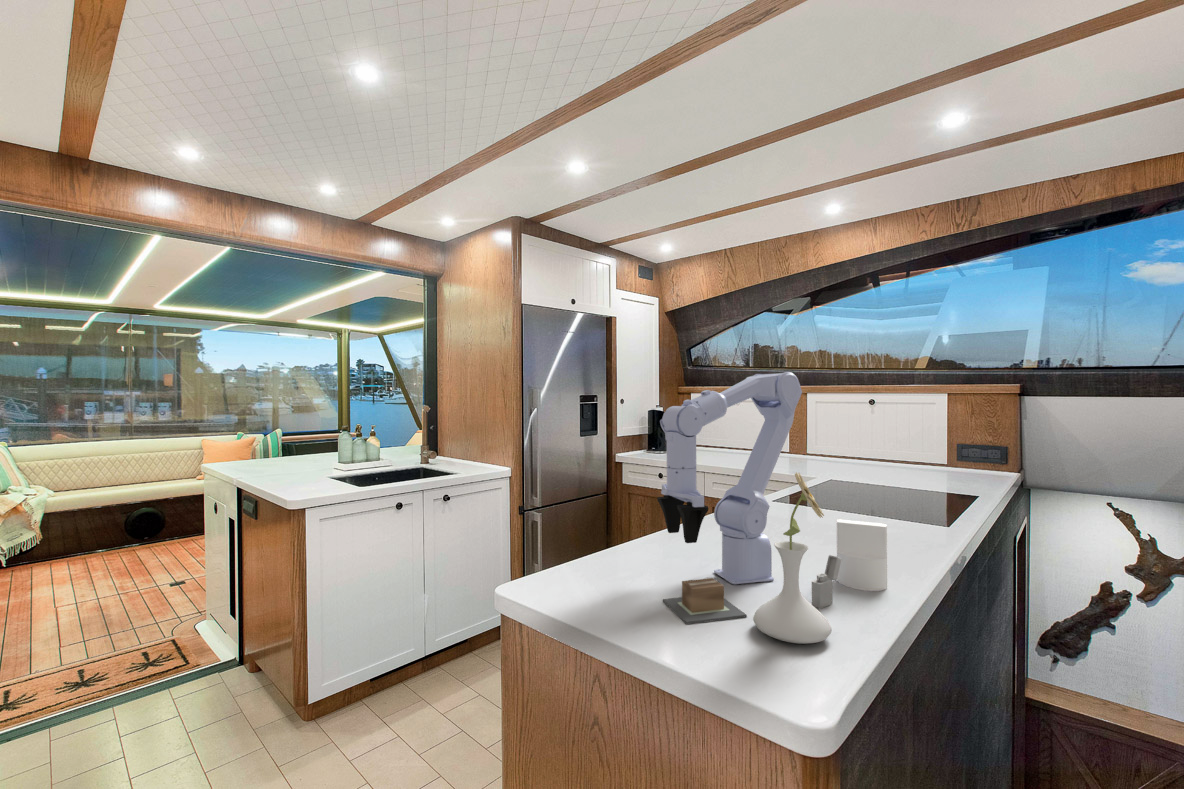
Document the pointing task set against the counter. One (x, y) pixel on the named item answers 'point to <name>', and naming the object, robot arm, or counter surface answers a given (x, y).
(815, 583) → the lighter
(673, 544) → the counter surface
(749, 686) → the counter surface
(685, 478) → the robot arm
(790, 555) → the flower in vase
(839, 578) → the cylinder with rectangular tab
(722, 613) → the mat
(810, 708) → the counter surface
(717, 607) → the cardboard box
